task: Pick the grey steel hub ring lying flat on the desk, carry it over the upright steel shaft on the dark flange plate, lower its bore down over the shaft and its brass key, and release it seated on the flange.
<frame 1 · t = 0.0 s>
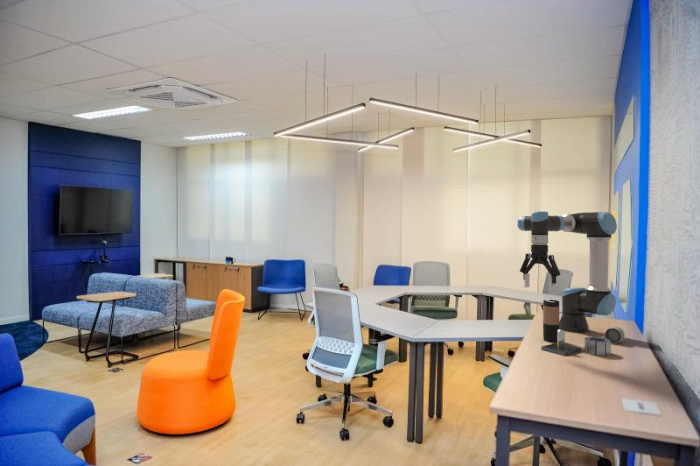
hand: (539, 289, 221), 28 cm above the table, fingers open, 13 cm apart
ceramic mug: (611, 342, 233), on the table
hub: (597, 352, 213), on the table
travel mug: (551, 340, 236), on the table
shaft block: (560, 350, 217), on the table
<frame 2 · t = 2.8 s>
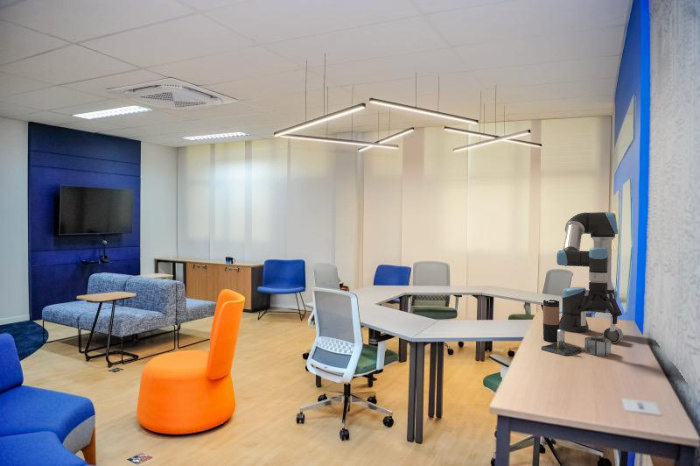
hand: (597, 328, 213), 11 cm above the table, fingers open, 13 cm apart
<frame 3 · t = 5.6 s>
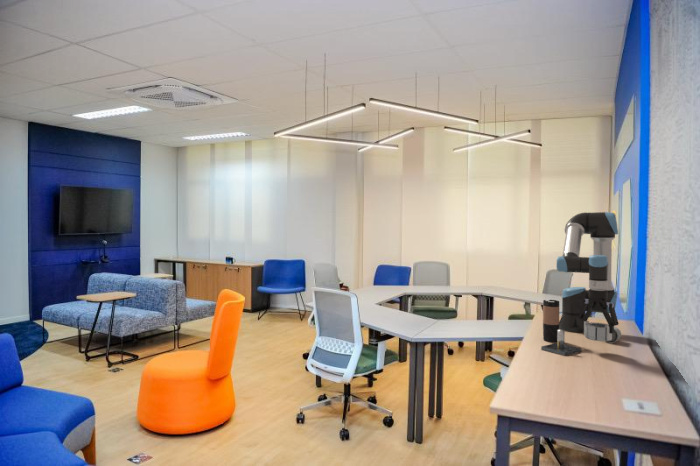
hand: (597, 337, 214), 7 cm above the table, fingers closed on hub, 10 cm apart
hub: (597, 338, 214), point 7 cm above the table, touching gripper
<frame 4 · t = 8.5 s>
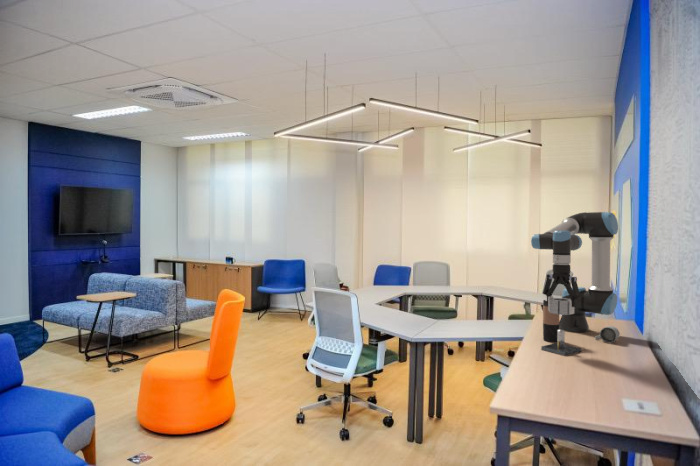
hand: (560, 312, 216), 18 cm above the table, fingers closed on hub, 10 cm apart
hub: (561, 312, 216), point 18 cm above the table, touching gripper
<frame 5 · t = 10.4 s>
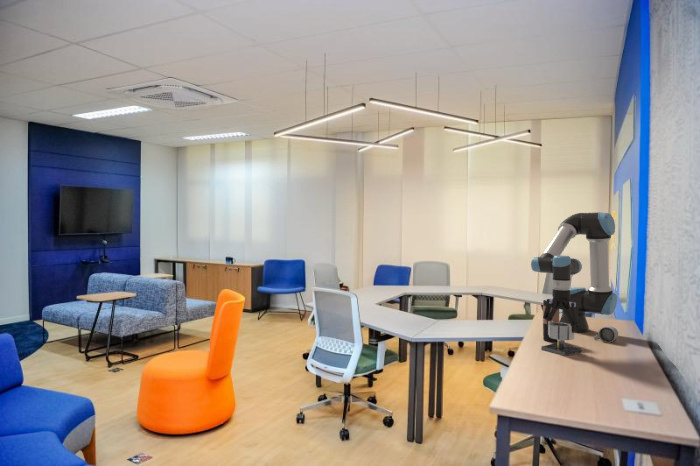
hand: (560, 336, 217), 6 cm above the table, fingers closed on hub, 10 cm apart
hub: (560, 337, 217), point 6 cm above the table, touching gripper
when the fingers open (3 cm above the table, at t = 11.7 s): hub drops 1 cm, resting on shaft block.
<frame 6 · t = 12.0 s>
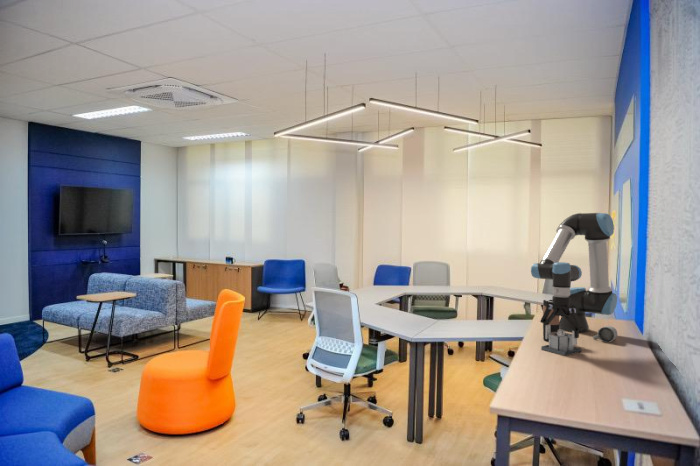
hand: (560, 341, 217), 4 cm above the table, fingers open, 13 cm apart
hub: (561, 347, 217), point 1 cm above the table, touching shaft block
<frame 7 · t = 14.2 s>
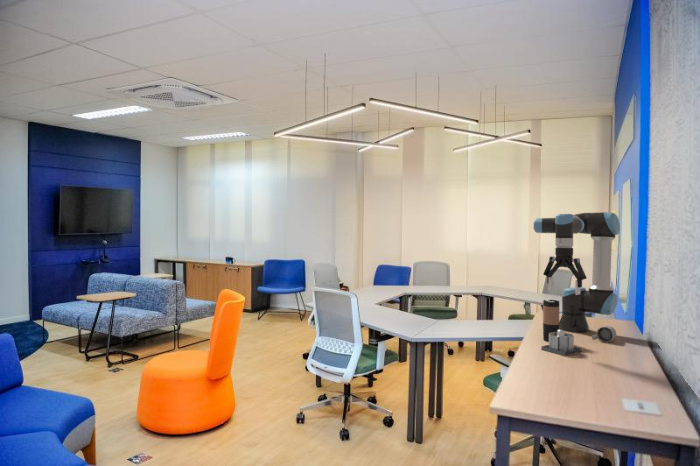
hand: (564, 292, 218), 27 cm above the table, fingers open, 13 cm apart
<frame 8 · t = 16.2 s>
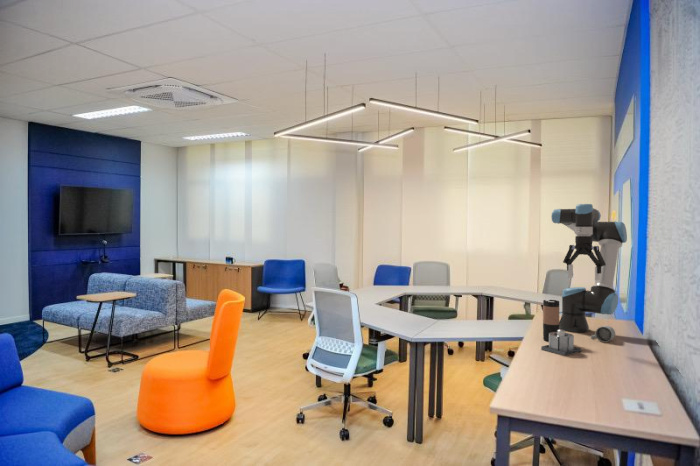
hand: (583, 279, 229), 32 cm above the table, fingers open, 13 cm apart
at the end: hub 0.1 cm off-centre on the shaft block, point 1.5 cm above the shaft block's base; hub tilted 0°; the gripper is holding nothing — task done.
